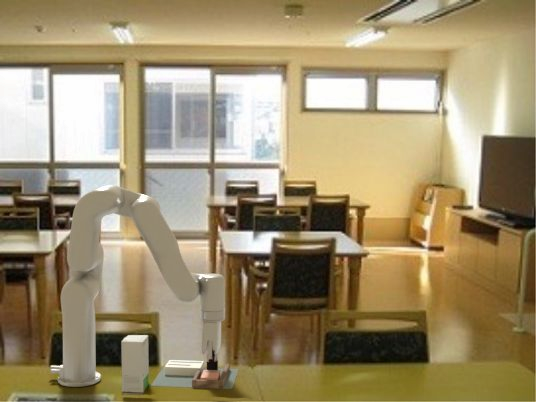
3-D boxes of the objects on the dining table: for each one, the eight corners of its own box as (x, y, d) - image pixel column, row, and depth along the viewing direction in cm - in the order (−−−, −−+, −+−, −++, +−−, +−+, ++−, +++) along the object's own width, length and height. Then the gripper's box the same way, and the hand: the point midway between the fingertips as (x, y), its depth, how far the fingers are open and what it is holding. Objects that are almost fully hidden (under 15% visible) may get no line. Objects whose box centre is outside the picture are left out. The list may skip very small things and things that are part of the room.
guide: (192, 386, 204) (192, 380, 203) (201, 368, 220) (201, 362, 220) (222, 387, 203) (222, 381, 203) (229, 369, 219) (229, 363, 219)
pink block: (200, 385, 205) (200, 377, 204) (203, 377, 212) (203, 369, 211) (217, 386, 204) (217, 377, 204) (220, 378, 211) (220, 369, 211)
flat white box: (164, 374, 214) (164, 366, 214) (169, 367, 221) (169, 359, 221) (200, 376, 213) (200, 367, 213) (203, 368, 220) (203, 360, 220)
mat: (150, 389, 204) (150, 385, 204) (163, 369, 222) (163, 366, 222) (232, 392, 202) (232, 388, 202) (238, 372, 220) (238, 368, 220)
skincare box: (142, 395, 198) (142, 342, 197) (120, 395, 199) (119, 341, 198) (149, 385, 207) (149, 334, 206) (127, 385, 207) (127, 333, 206)
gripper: (204, 308, 219) (203, 365, 221) (196, 320, 204) (196, 381, 206) (227, 309, 219) (227, 366, 220) (221, 321, 204) (221, 382, 205)
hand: (212, 373), depth 213 cm, fingers closed
